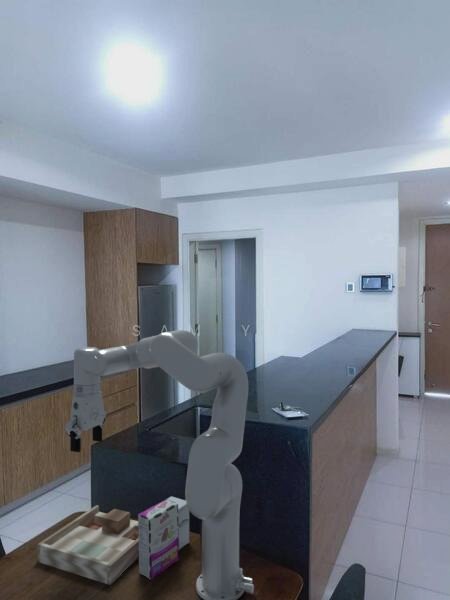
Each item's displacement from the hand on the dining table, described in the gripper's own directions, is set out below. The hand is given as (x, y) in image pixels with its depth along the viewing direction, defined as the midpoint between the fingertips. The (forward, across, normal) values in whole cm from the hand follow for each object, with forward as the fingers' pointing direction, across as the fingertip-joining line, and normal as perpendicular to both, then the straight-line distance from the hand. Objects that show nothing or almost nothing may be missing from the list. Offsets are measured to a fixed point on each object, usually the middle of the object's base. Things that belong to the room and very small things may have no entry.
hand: (86, 446), depth 133 cm
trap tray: (+30, 0, -6) cm, 30 cm away
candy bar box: (+30, -1, -26) cm, 39 cm away
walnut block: (+27, +6, -6) cm, 28 cm away
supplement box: (+30, +10, -24) cm, 39 cm away
